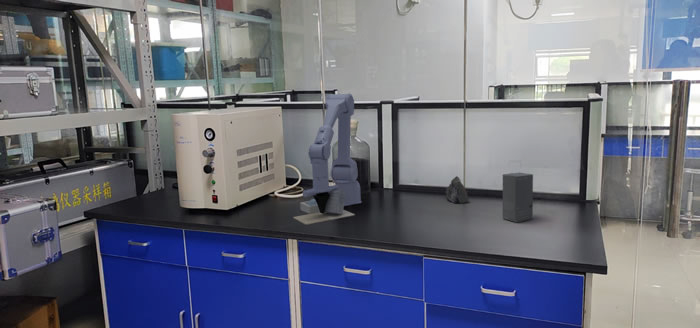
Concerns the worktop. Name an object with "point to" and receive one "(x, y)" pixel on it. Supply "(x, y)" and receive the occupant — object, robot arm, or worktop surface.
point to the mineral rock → (456, 191)
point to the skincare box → (517, 197)
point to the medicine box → (335, 202)
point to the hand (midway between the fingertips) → (322, 212)
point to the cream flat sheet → (321, 217)
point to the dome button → (312, 202)
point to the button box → (309, 208)
